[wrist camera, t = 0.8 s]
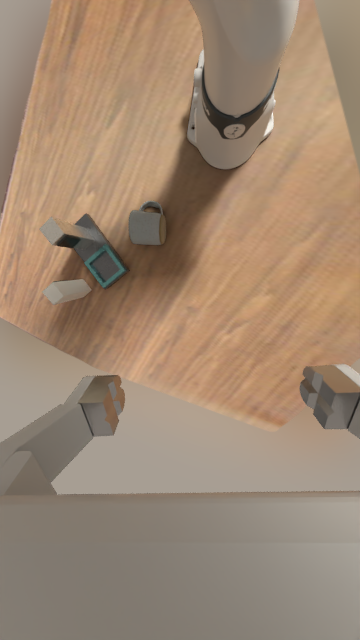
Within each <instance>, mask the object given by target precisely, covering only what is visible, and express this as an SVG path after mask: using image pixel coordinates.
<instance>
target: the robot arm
mask: <svg viewBox="0 0 360 640" xmlns="http://www.w3.org/2000/svg"><path fill="white" fill-rule="evenodd" d="M189 1H190V3H191V5H192V7H193V9H194V11H195V13H196V15H197V17H198V19H199V22H200V25H201V29H202V36H203V47H204V49H203V50H202V52H201V53H200V56H199V62H198V68H196V69H195V73H194V86H195V87H194V93H193V100H192V106H191V112H190V118H189V125H188V131H187V138H188V140H189V142H190V143H192V144H193V145H194V146H196V147H197V148H198V149H199V151H200V153H201V155H202V156H203V158H204V159H205V160H206V161H207V162H208V163H209V164H210V165H212V166H214V167H216V168H219V169H231V168H235V167H237V166H239V165H241V164H243V163H244V162H245V161H246V160H248V159H249V158H250V156H251V155H252V154H253V153H254V151H255V149H256V148H257V146H258V145H259V143H260V142H261V141H263V140H264V139H265V138H266V137H267V136H269V135H270V133H271V132H272V129H273V126H274V122H273V110H274V107H275V102H276V101H275V100H274V89H275V86H276V82H277V78H278V73H279V66H280V64H281V61H282V58H283V56H284V53H285V50H286V48H287V45H288V42H289V40H290V37H291V34H292V32H293V29H294V26H295V22H296V17H297V12H298V6H299V0H189ZM193 127H195V129H194V130H193V129H192V128H193ZM303 375H304V377H305V379H304V380H303V381H302V382H301V383H300V393H301V396H302V399H303V401H304V402H305V403H306V405H307V406H309V407H311V408H312V409H314V413H313V415H314V416H315V417H316V419H317V420H318V421H319V423H320V424H321V425H322V427H323V428H324V429H348V431H350V432H351V433H352V434H354V435H355V436H357V437H358V438H359V439H360V374H358V373H357V372H356V371H355V370H353V369H352V368H351V367H350V366H348V365H345V364H335V365H323V366H306V367H305V368H304V370H303ZM120 385H121V378H120V376H118V375H108V376H86V377H84V378H83V379H82V380H81V382H80V383H79V384H78V386H77V387H76V388H75V390H74V391H73V392H72V394H71V395H70V396H69V398H68V399H67V401H66V402H65V403H64V404H63V405H59V406H57V407H56V408H54V409H52V410H51V411H49V412H48V413H46V414H45V415H43V416H42V417H40V418H39V419H37V420H35V421H34V422H32V423H31V424H29V425H28V426H26V427H25V428H23V429H22V430H20V431H19V432H17V433H15V434H14V435H12V436H10V437H9V438H7V439H6V440H5V441H3V442H1V443H0V640H360V491H311V492H310V491H308V492H307V491H306V492H230V493H229V492H227V493H226V492H223V493H149V494H148V493H147V494H67V495H66V494H64V495H57V493H56V491H55V490H54V488H53V487H52V485H51V482H52V481H53V480H54V479H55V478H56V476H57V475H58V474H59V473H60V472H61V471H62V470H63V469H64V468H65V467H66V466H67V465H68V464H69V463H70V462H71V461H72V460H73V459H74V457H75V456H76V455H77V454H78V453H79V452H80V451H81V450H82V449H83V448H84V447H85V446H86V445H87V444H88V443H89V442H90V441H91V440H92V439H93V436H110V435H114V432H115V430H116V427H117V424H118V422H119V420H118V415H119V414H120V413H121V412H122V411H123V408H124V403H125V394H124V390H123V389H122V388H121V387H120Z"/></svg>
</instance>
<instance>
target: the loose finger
mask: <svg viewBox="0 0 360 640" xmlns="http://www.w3.org/2000/svg"><path fill="white" fill-rule="evenodd" d="M90 291H91V288H90V287H89V286H88V284H87V283H86V282H85V281H84V279H79V280H70V281H68V280H64V281H54V282H52V283H51V284H50V285H49V286H48V287H47V288H46V289H45V290H44V291H43V293H44V294H45V296H46V297H47V298H48V299H49V300H50V302H51V303H52V304H53V305H55V304H59V303H63V302H67V301H71V300H75V299H79V298H83V297H84V296H85V295H87V294H88V293H89V292H90Z"/></svg>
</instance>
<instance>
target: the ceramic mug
mask: <svg viewBox="0 0 360 640" xmlns="http://www.w3.org/2000/svg"><path fill="white" fill-rule="evenodd" d="M149 206H152V207H156V208H159V209H160V210H161V214H160V213H153V212H144V211H143V210H144V209H145V208H146V207H149ZM129 236H130V239H131V241H132V243H134V244H144V245H162V244H164V242H165V239H166V219H165V216H164V215H163V211H162V207H161V205H160V204H159V203H157V202H155V201H147V202H145V203H144V204H143V205H142V206H141V207H140V209H139V211H137V210H133V211H131V213H130V217H129Z"/></svg>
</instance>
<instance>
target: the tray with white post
mask: <svg viewBox="0 0 360 640" xmlns="http://www.w3.org/2000/svg"><path fill="white" fill-rule="evenodd" d="M40 230H41V232H42V233H43V234H44V236H45V237H46V238H47V239H48V241H49V242H50V243H51V244H52V245H55V246H61V247H68V248H74V249H75V251H76V252H77V253H78V255H79V256H80V257H81V258H82V260H83V261H84V264H85V265H86V266H87V268H88V269H89V270H90V272H91V273H92V274H93V275H94V277H95V278H96V279H97V281H98V282H99V283H100V285H101V286H102V287H103V288H105V289H107V288H109V287H110V286H111V285H112V284H114V283H115V282H116V281H117V280H119V279H120V278H121V277H122V276H124V275H125V274H126V273H127V272H128V271H130V270H129V269H128V267H127V266H126V265H125V263H124V262H123V261H122V259H121V258H120V256H119V255H118V254H117V252H116V251H115V250H114V248H113V247H112V246H111V244H110V243H109V241H108V240H107V239H106V237H105V236H104V235H103V233H102V232H101V230H100V229H99V228H98V226H97V225H96V224H95V222H94V221H93V220H92V218H91V217H90V215H88V214H85V215H84V216H83V217H82V218H81V219H80V220H79V221H78V222H77V223H76V224H72V223H69V222H66V221H63V220H60V219H57V218H54V217H50V218H49V220H48V221H47V222H46V223H45V224H44V225H43V226H42V227H41V228H40Z"/></svg>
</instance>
